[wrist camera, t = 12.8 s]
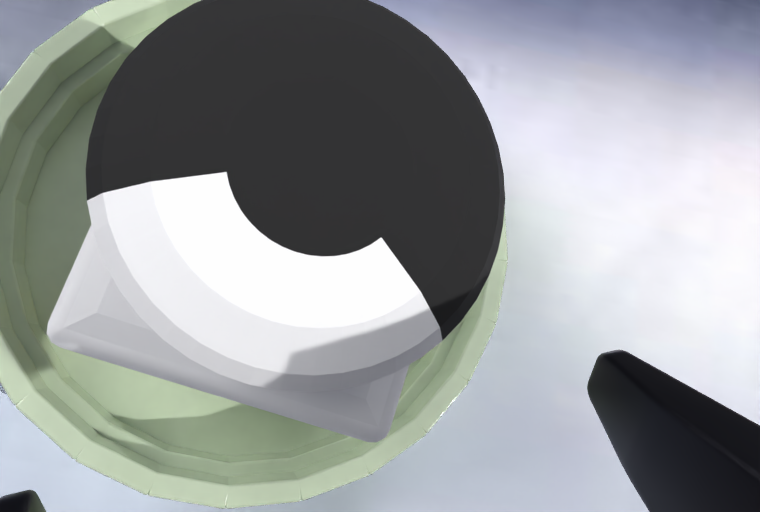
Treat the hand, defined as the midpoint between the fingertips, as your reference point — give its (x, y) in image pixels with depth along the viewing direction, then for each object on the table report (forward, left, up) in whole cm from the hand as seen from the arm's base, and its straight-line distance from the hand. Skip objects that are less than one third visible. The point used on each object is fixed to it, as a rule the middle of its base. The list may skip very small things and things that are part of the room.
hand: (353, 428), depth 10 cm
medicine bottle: (+4, +1, -10) cm, 11 cm away
